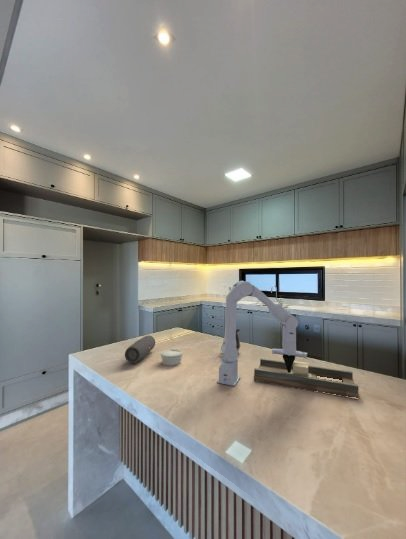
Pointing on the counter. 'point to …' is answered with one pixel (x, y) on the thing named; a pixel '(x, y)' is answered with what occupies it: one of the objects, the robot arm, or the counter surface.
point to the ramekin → (171, 357)
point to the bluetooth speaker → (139, 349)
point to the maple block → (300, 368)
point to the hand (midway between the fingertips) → (289, 371)
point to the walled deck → (307, 378)
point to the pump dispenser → (237, 340)
